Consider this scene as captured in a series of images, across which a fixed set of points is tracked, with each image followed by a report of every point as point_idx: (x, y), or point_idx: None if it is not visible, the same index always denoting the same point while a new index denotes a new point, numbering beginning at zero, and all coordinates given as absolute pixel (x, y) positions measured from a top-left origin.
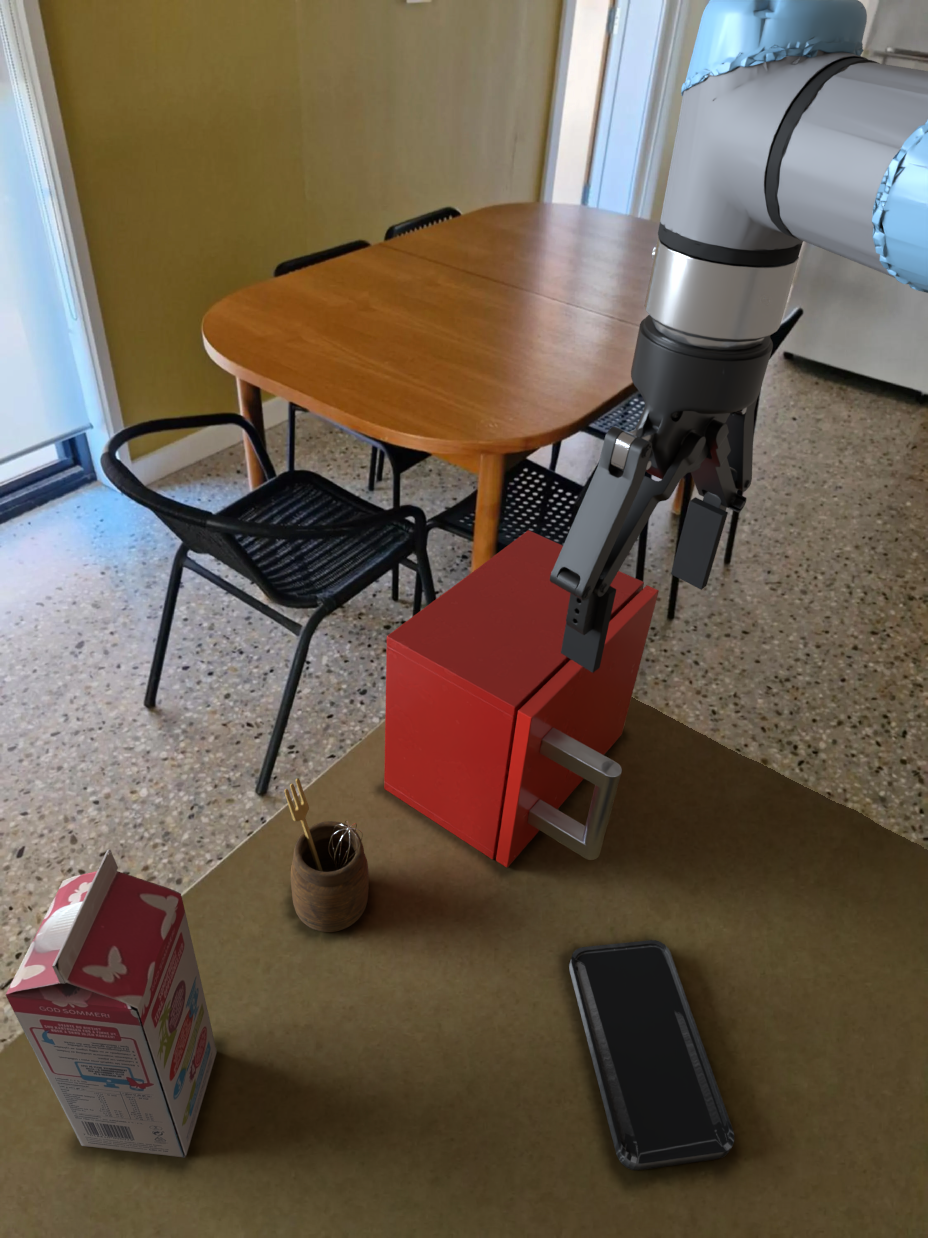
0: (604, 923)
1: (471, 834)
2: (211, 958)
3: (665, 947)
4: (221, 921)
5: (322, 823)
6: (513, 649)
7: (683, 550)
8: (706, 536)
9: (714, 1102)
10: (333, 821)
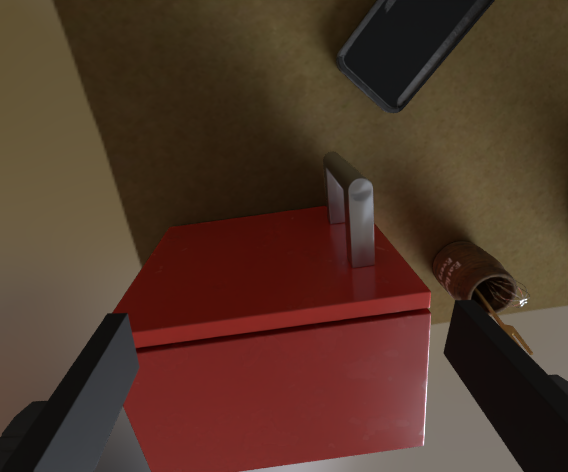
0: (343, 114)
1: None
2: (527, 278)
3: (340, 56)
4: None
5: None
6: (349, 370)
7: (114, 408)
8: (74, 431)
9: None
10: None
